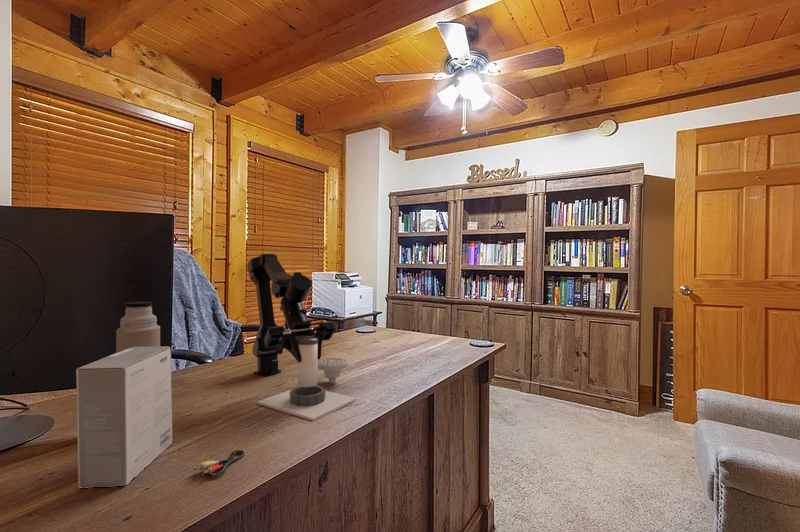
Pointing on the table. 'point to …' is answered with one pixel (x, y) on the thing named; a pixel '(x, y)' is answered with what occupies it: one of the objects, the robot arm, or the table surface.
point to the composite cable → (218, 465)
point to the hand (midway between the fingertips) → (310, 360)
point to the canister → (308, 361)
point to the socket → (307, 402)
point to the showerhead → (332, 367)
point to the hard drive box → (123, 415)
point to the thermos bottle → (137, 327)
